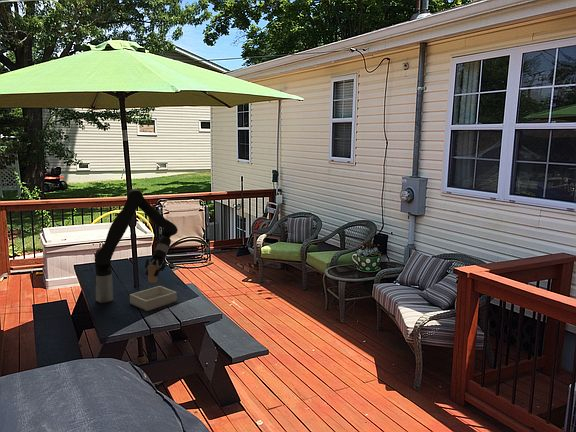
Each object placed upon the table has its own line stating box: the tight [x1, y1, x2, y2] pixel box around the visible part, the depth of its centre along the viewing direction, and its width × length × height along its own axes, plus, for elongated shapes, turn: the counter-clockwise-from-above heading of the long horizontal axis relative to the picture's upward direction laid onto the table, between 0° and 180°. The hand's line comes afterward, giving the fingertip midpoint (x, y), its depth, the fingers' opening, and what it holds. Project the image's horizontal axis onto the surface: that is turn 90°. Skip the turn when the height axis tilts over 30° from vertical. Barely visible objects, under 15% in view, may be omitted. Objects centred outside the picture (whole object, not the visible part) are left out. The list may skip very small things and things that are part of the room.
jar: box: [147, 265, 158, 284], centre depth 283 cm, size 6×6×10 cm
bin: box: [129, 285, 178, 312], centre depth 286 cm, size 22×18×6 cm
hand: (151, 275), depth 282 cm, fingers closed on jar, 5 cm apart
